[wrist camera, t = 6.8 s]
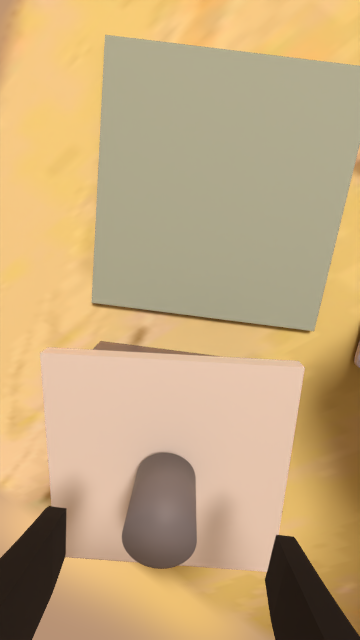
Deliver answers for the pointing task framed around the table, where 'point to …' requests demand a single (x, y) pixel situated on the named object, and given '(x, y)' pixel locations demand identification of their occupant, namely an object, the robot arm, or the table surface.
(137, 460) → the lid
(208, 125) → the mat
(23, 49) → the table surface
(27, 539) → the robot arm
